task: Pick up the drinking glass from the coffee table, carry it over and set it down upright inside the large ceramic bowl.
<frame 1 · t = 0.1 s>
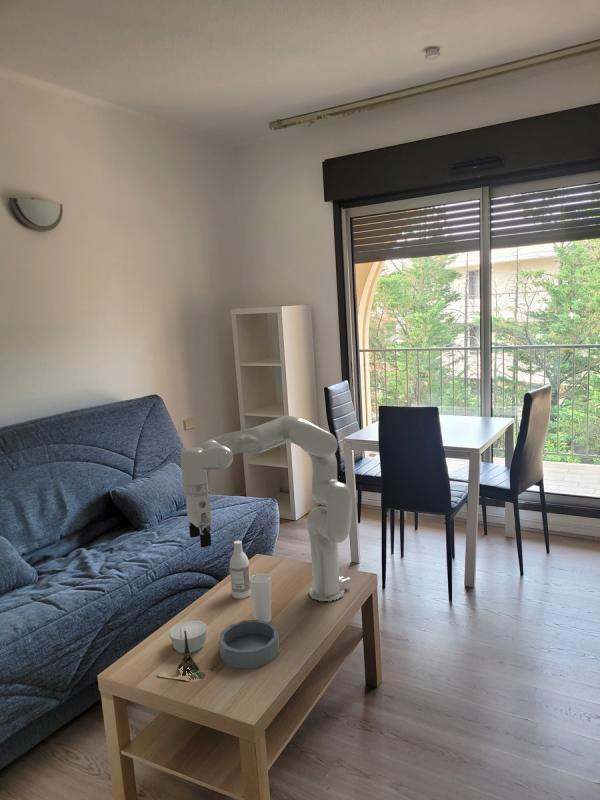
hand: (200, 541, 179), 31 cm above the table, tool pointing down, fingers open, 9 cm apart
ramekin: (189, 645, 179), on the table
bath foam: (241, 595, 209), on the table
bowl: (250, 650, 174), on the table
drinking glass: (263, 621, 190), on the table
eiffel tower figurine: (187, 672, 166), on the table
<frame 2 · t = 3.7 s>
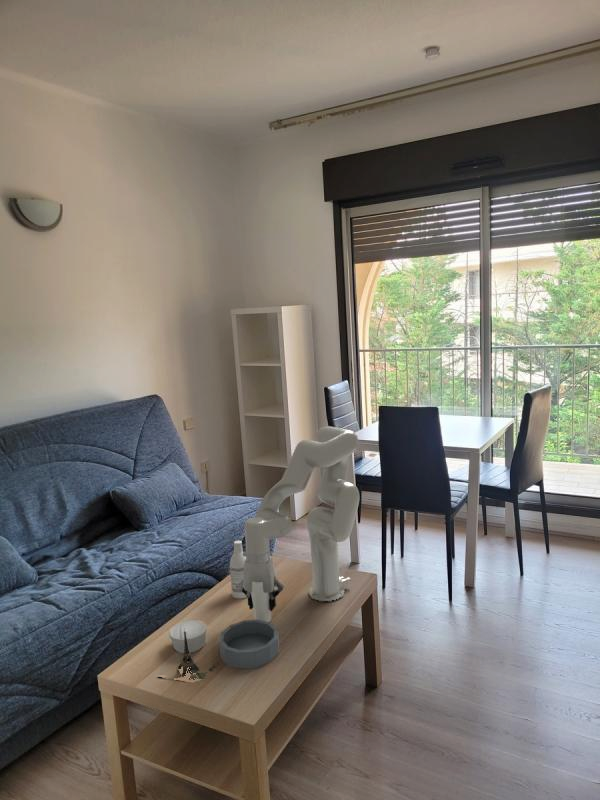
hand: (262, 607, 190), 5 cm above the table, tool pointing down, fingers closed on drinking glass, 6 cm apart
drinking glass: (263, 621, 190), on the table, touching gripper
everything else where it was.
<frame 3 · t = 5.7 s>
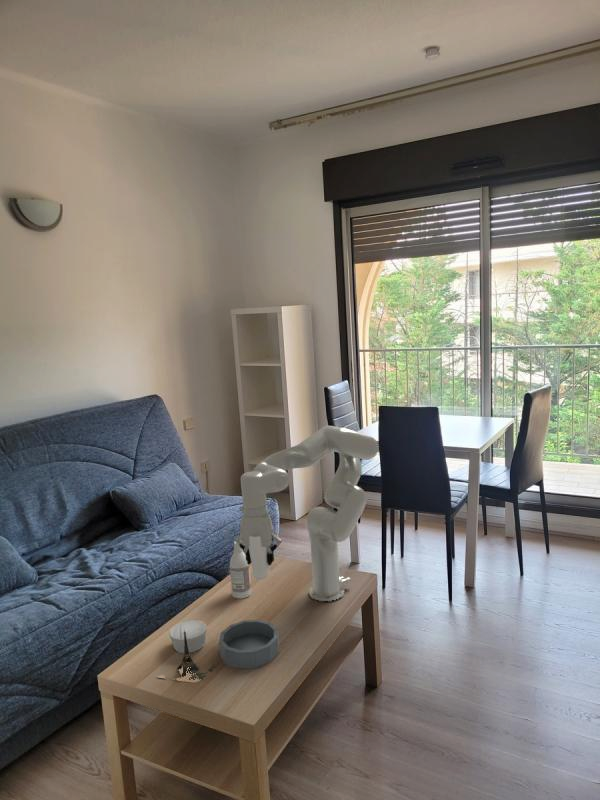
hand: (260, 562, 188), 20 cm above the table, tool pointing down, fingers closed on drinking glass, 6 cm apart
drinking glass: (261, 576, 188), point 15 cm above the table, touching gripper
everything else where it was.
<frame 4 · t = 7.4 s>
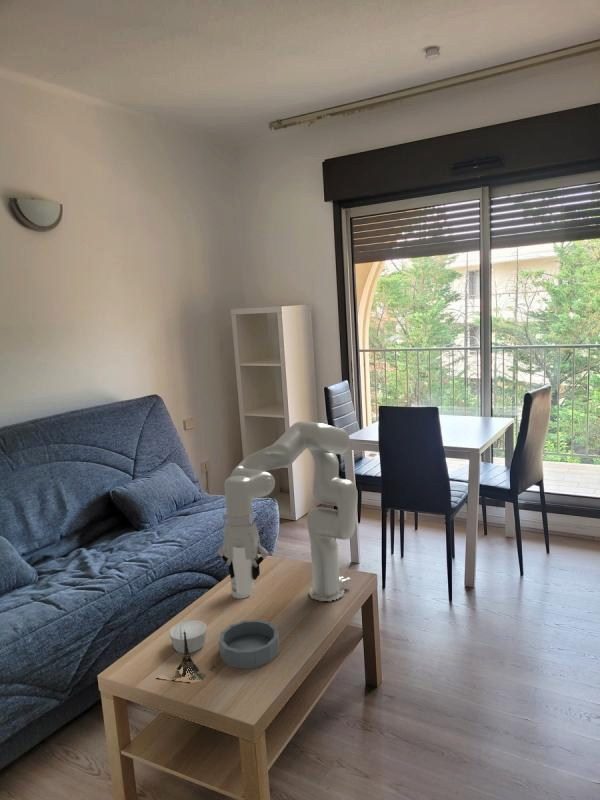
hand: (244, 576, 170), 24 cm above the table, tool pointing down, fingers closed on drinking glass, 6 cm apart
drinking glass: (245, 592, 171), point 19 cm above the table, touching gripper
everything else where it was.
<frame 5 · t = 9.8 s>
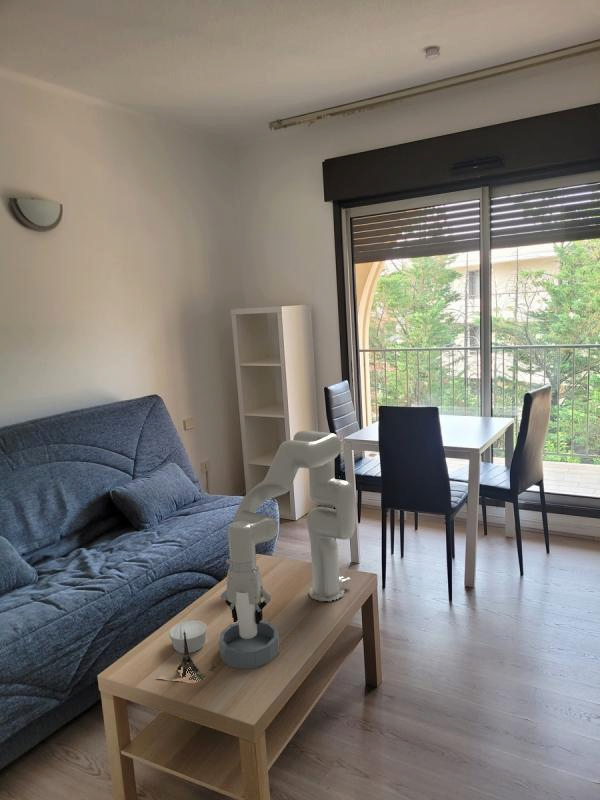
hand: (247, 620, 172), 10 cm above the table, tool pointing down, fingers closed on drinking glass, 6 cm apart
drinking glass: (248, 635, 173), point 5 cm above the table, touching gripper
everything else where it was.
when the fingers open (7 cm above the table, at t = 11.4 s): drinking glass drops 1 cm, resting on bowl.
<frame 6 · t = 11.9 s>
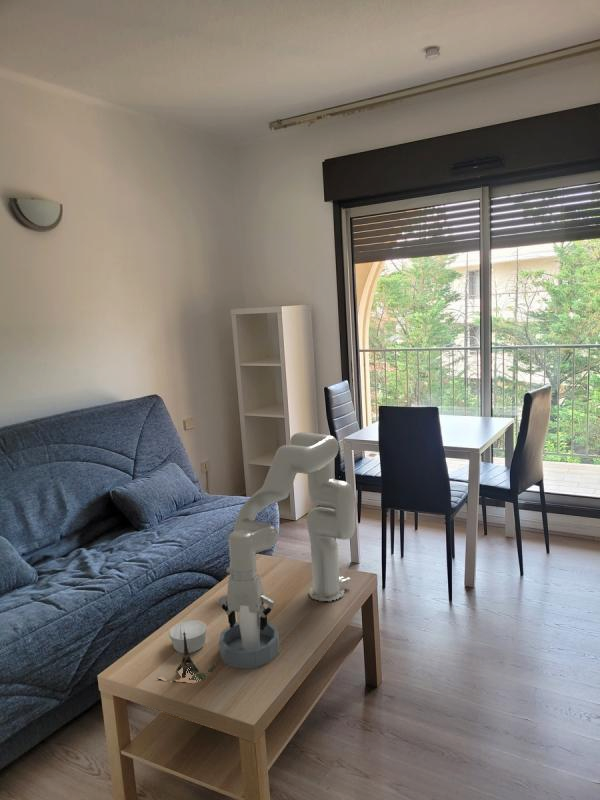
hand: (248, 626, 173), 8 cm above the table, tool pointing down, fingers open, 9 cm apart
drinking glass: (251, 647, 174), point 1 cm above the table, touching bowl
everything else where it was.
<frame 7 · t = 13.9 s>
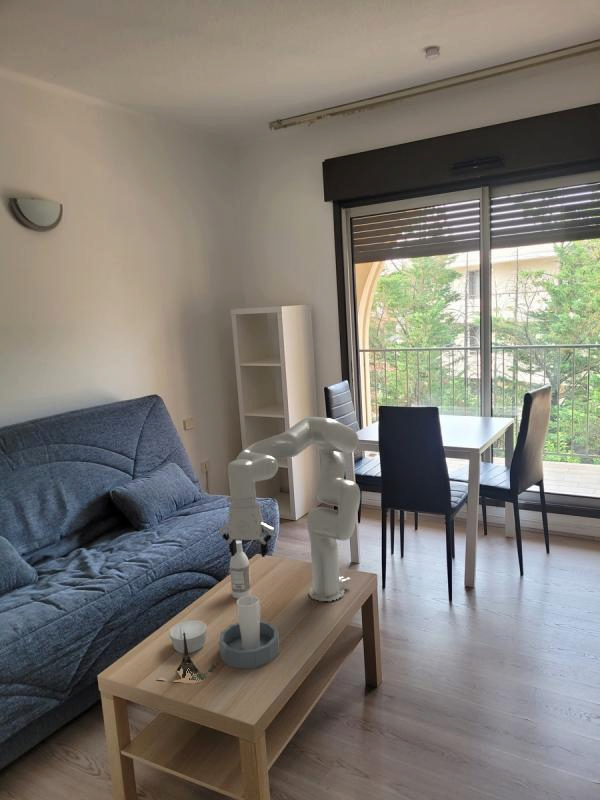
hand: (249, 554, 176), 28 cm above the table, tool pointing down, fingers open, 9 cm apart
nothing on the table moved.
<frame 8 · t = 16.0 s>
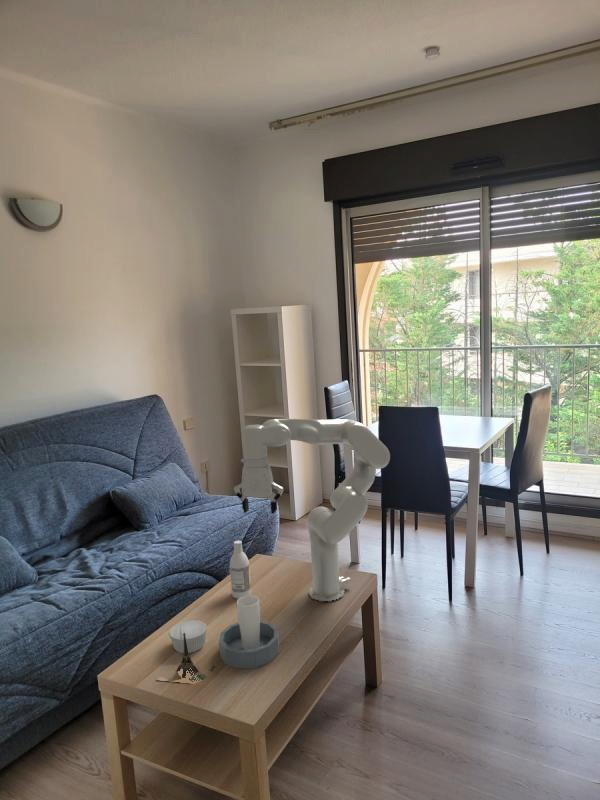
hand: (260, 511, 194), 34 cm above the table, tool pointing down, fingers open, 9 cm apart
at the end: drinking glass inside the target area on the bowl (0.4 cm from its centre), point 0.8 cm above the bowl's base; drinking glass tilted 0°; the gripper is holding nothing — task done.
